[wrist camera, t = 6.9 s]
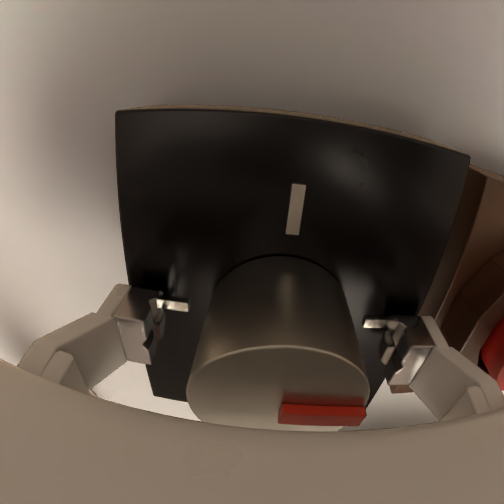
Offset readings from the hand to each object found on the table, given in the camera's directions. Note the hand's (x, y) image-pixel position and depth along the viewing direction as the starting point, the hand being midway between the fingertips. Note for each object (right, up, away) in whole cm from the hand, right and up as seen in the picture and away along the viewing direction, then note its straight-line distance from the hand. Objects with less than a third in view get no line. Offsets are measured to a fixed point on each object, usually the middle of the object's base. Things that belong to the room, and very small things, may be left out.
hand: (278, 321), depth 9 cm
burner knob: (0, 0, 0) cm, 0 cm away
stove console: (0, +2, +3) cm, 3 cm away
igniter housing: (+11, +1, +3) cm, 11 cm away
